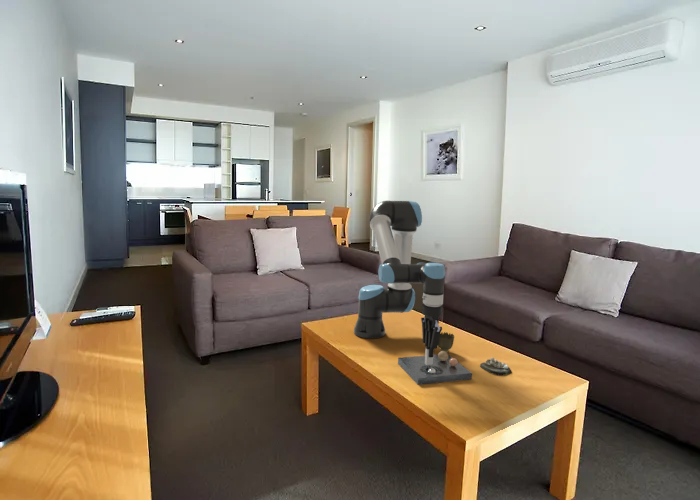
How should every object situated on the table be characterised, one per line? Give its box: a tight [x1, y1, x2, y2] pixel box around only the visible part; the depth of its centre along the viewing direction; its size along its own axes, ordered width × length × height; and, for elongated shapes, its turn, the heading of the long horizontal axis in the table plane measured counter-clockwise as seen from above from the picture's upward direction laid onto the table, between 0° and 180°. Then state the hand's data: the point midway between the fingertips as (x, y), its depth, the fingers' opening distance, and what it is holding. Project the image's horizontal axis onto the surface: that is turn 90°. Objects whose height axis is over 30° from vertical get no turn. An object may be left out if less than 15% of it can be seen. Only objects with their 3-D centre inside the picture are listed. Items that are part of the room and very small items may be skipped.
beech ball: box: [437, 351, 449, 361], centre depth 168 cm, size 4×4×4 cm
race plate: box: [397, 354, 473, 386], centre depth 165 cm, size 19×22×2 cm
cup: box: [438, 331, 455, 354], centre depth 184 cm, size 8×7×8 cm
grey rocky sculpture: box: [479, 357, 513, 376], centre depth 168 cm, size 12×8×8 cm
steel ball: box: [427, 368, 436, 373], centre depth 159 cm, size 3×3×3 cm
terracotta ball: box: [449, 357, 459, 367], centre depth 164 cm, size 3×3×3 cm
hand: (428, 363), depth 162 cm, fingers closed
